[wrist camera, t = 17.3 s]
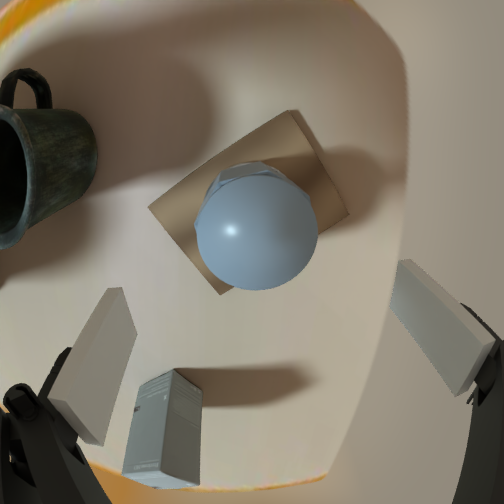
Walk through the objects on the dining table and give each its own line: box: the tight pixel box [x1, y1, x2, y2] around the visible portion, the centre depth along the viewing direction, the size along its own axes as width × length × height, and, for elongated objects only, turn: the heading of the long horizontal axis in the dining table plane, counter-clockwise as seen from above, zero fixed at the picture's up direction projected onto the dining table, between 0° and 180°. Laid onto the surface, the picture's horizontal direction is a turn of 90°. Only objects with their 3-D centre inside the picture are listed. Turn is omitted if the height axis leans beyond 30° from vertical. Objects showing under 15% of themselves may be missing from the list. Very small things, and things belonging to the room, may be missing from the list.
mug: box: [0, 68, 97, 249], centre depth 18 cm, size 11×15×12 cm
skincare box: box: [121, 370, 203, 489], centre depth 31 cm, size 8×7×16 cm
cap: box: [194, 161, 318, 290], centre depth 23 cm, size 8×8×7 cm
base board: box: [148, 110, 349, 295], centre depth 28 cm, size 12×16×1 cm
